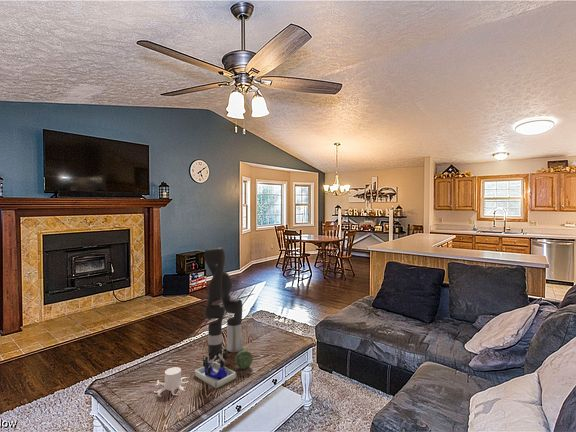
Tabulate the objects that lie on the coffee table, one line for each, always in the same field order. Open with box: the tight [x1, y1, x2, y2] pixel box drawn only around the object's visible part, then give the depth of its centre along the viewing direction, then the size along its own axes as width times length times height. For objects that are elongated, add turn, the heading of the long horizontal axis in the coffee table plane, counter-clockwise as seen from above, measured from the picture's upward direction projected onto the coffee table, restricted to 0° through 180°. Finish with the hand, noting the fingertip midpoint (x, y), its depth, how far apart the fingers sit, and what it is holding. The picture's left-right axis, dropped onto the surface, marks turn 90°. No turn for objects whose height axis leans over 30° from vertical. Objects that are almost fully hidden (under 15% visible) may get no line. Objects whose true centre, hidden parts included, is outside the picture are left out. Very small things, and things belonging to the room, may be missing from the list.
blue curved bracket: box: [205, 366, 227, 380], centre depth 173 cm, size 12×4×6 cm, turn 59°
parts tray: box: [194, 361, 238, 389], centre depth 173 cm, size 14×20×3 cm
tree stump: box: [153, 366, 189, 398], centre depth 165 cm, size 20×19×8 cm
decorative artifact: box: [234, 349, 254, 370], centre depth 181 cm, size 10×7×10 cm
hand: (215, 370), depth 173 cm, fingers open, 8 cm apart
